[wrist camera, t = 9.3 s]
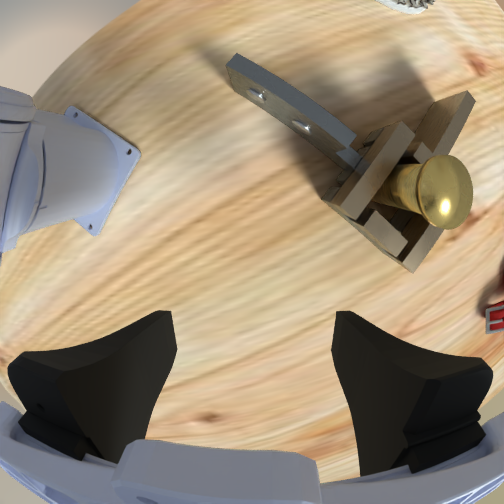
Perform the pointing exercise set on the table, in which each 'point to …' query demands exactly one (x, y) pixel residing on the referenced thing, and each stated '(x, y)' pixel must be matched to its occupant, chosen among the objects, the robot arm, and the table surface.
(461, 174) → the hinge pin
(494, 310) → the tracker holder
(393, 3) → the decorative candle
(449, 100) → the swing leaf
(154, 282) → the table surface
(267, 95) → the fixed leaf
